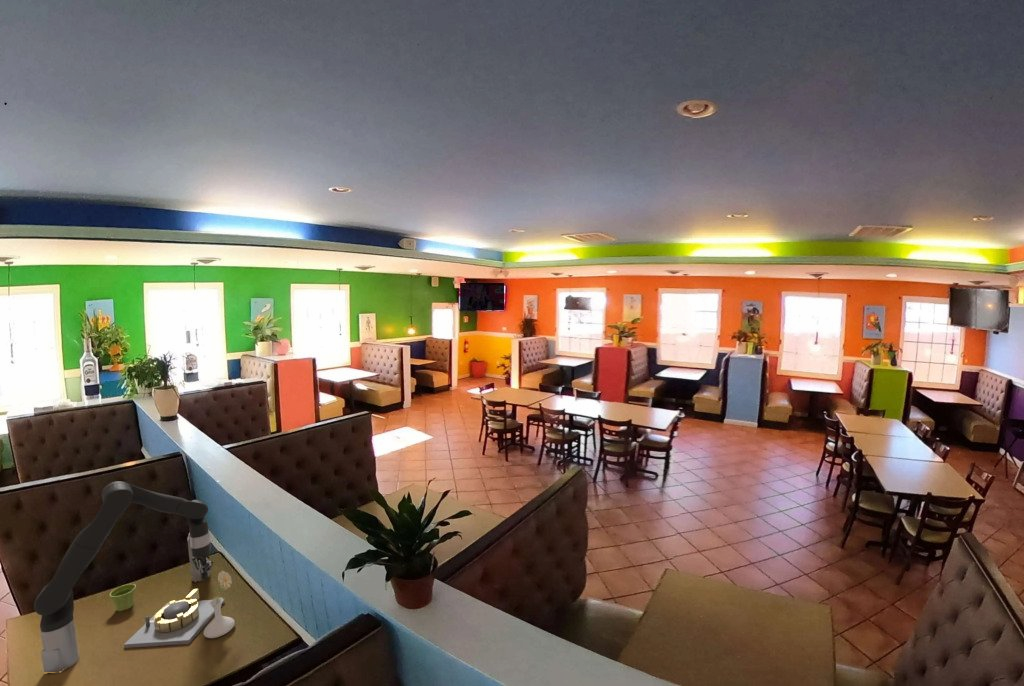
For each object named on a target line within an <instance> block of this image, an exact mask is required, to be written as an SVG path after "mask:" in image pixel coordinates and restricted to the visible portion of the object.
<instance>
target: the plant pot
mask: <svg viewBox="0 0 1024 686" xmlns="http://www.w3.org/2000/svg"><path fill="white" fill-rule="evenodd" d="M136 587H137V585H136V584H135V583H127V584H123V585H121V586H118V587H117V588H114V589H113V590H112V591H111V592H110V593H109V597H111V599H112V601H113V603H114V606H115V611H117V612H123V611H125V610H126V611H127V610H128V609H130V608H132V607H133V606H134V603H135V601H134V600H135V591H136Z"/></svg>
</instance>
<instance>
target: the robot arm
mask: <svg viewBox="0 0 1024 686" xmlns="http://www.w3.org/2000/svg"><path fill="white" fill-rule="evenodd" d="M101 498H102V505H101V507H100V509H99V511H98V512H97V514H96V515H95V517H94V519H93V520H92V521H91V522H90V523H89V524H87V526H86V527H84V528H83V529H82V530H80V532H79V533H78V534H77V535H76V536H75V538H74V539H73V541H72V542H71V544H70V545H69V547H68V549H67V551H66V552H65V554H64V556H63V557H62V560H61V562H60V564H59V566H58V567H57V569H56V572H55V573H54V575H53V577H52V579H51V580H50V581H49V583H48V584H46V585H45V586H44V587H42V589H41V591H39V594H38V595H37V596H36V598H35V600H34V603H33V609H34V611H35V613H36V614H38V615H40V617H41V619H40V622H39V623H40V624H39V628H40V629H39V630H40V635H41V642H42V648H43V649H42V650H41V651H40V652H41V653H40V654H41V662H42V668H43V673H44V672H59V671H62V670H63V669H65V668H68V667H69V668H71V667H73V666H74V665H75V664H76V663H77V662H78V661H79V659H80V656H79V649H78V647H79V646H78V641H77V633H76V626H75V619H74V612H75V610H74V609H75V604H74V594H73V588H74V586H75V584H76V582H77V581H78V580H79V578H80V577H81V575H83V573H84V572H85V570H86V569H87V568H88V566H89V565H90V564H91V562H92V561H93V560H94V558H95V557H96V556H97V554H98V552H99V551H100V549H101V548H102V546H103V545H104V543H105V540H106V539H107V537H108V536H109V534H110V533H111V531H112V529H113V528H114V526H115V525H116V523H117V521H118V520H119V518H121V517H122V515H123V514H124V512H125V511H126V510H127V508H129V506H130V504H131V503H132V504H138V505H141V506H144V507H146V508H149V509H152V510H153V511H156V512H160V513H166V514H171V515H178V516H183V517H185V518H186V520H187V524H188V526H189V533H190V545H191V553H192V556H193V557H194V558H192V560H193V562H194V564H195V566H196V568H197V570H199V572H200V573H201V579H202V581H205V580H207V579H208V578H209V577H208V573H207V571H209V570H210V571H211V568H212V567H213V564H214V562H213V561H212V560H211V561H210V555H209V554H210V553H211V552H212V544H211V535H210V533H209V531H210V530H209V526H208V525H209V524H208V521H207V519H206V518H205V517H206V515H208V513H209V508H208V507H209V506H208V505H207V504H206V503H204V502H203V501H201V500H200V499H193V500H192V499H191V500H188V499H186V498H184V497H179V496H174V495H170V494H165V493H160V492H156V491H152V490H148V489H145V488H142V487H139V486H137V485H133V484H132V483H131V484H130V483H129V482H125V481H118V480H117V481H112V482H109V483H108V484H106V486H104V488H103V489H102V491H101ZM70 666H71V667H70ZM69 668H68V669H69ZM62 672H63V671H62Z"/></svg>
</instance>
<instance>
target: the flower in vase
mask: <svg viewBox="0 0 1024 686" xmlns="http://www.w3.org/2000/svg"><path fill="white" fill-rule="evenodd" d="M217 582H218V584H219V587H218V591H217V596H213V597H212V599H211V600H212V601H211V602H210V605H211V606H212V607H213V608H214V612H215V614H214V618H213V619H212V620H211V621H209V622H208V623H207V624H206V626H205V628H204V629H203V636H204V637H206V638H208V639H215V638H219V637H222V636H224V635H226V634H227V633H229V632H230V631H232V629H233V628H234V627H235V624H236V621H235V620H234V618H233V617H229V616H224V615H222V610H221V609H222V608H221V607H222V606H221V604H222V602H223V600H224V599H225V598H223V597H220V594H224V593H225V592H226V590H227V589H229V588H231V587H232V584H233V582H232V576H231V574H229V572H225V571H224V570H222V571H220V572H219V573H218V574H217Z"/></svg>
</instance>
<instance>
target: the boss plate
mask: <svg viewBox="0 0 1024 686" xmlns="http://www.w3.org/2000/svg"><path fill="white" fill-rule="evenodd" d="M223 599H224V600H223V602H222V604H223V603H224V602H225V603H226V601H225V600H226V599H225V598H223ZM212 600H213V599H206V600H205V599H204V600H197V601H198V607H199V614H198V616H197V617H196V618H195V619H194V620H193V621H192V622H191V623H189V624H187V625H186V626H184V627H181V628H179V629H176V630H174V631H170V632H159V631H157V630H155V626H154V616H155V614H154V615H153V616H152V617H150V615H146V616H145V617H144V621H145V624H144V625H142V626H141V627H140V628H139V629H138V630H137V631H136V632H135V633H134V634H133V635H132V636H131V637H130V638H129V639H128V640H127V641H126V642H125V643H123V648H125V649H129V648H144V647H158V646H173V645H175V646H176V645H187V644H191V642H193V640H194V639H195V638H196V636H198V634H200V632H201V631H202V629H204V627H206V626H207V625H208V623H209V622H210V620H211V619H212V618H213V617H214V616H215V612H214V608H213V607H212V606H211V605H210V602H211V601H212ZM179 601H180V600H179ZM225 603H224V604H225ZM222 604H221V607H222V606H223V605H224V604H223V605H222ZM167 605H169V602H167V603H165V604H164V605H163V606H162V608H164V607H166V606H167ZM162 608H160V609H159V610H158V611H157V612H156V613H158V612H159V611H160V610H161V609H162ZM188 611H189V603H188V602H187V601H183V600H182V601H180V602H177V601H176V603H173V604H171V605H170V606H168V607H167V608H166V609H165V610H164V612H163V613H164V619H173V618H176V617H177V615H178V614H180V613H183V614H185V613H186V612H188Z"/></svg>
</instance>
